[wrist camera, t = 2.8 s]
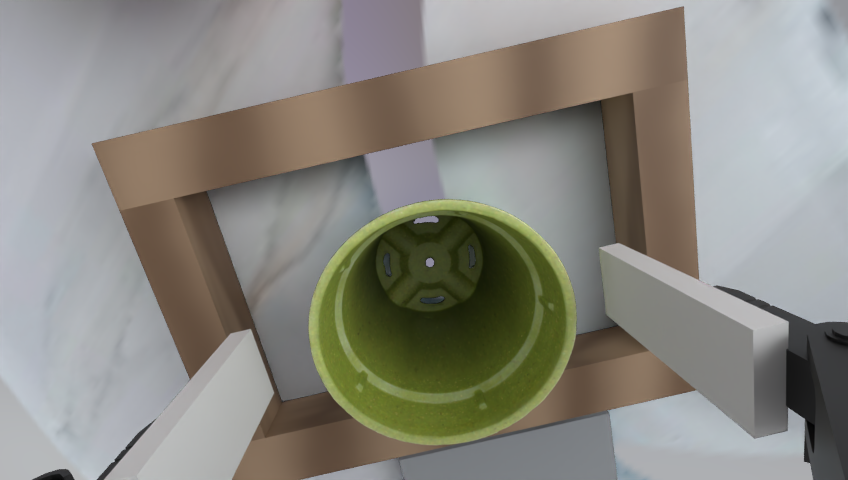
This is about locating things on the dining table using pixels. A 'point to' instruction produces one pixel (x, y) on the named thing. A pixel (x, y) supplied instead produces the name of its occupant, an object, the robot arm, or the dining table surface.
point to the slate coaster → (525, 454)
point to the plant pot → (442, 323)
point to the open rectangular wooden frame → (396, 126)
